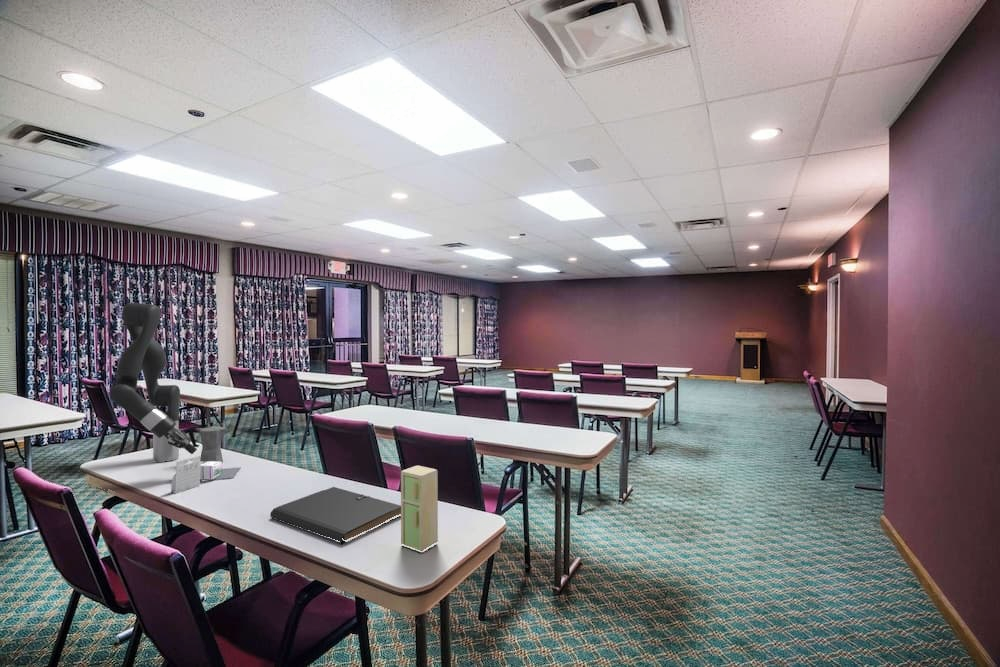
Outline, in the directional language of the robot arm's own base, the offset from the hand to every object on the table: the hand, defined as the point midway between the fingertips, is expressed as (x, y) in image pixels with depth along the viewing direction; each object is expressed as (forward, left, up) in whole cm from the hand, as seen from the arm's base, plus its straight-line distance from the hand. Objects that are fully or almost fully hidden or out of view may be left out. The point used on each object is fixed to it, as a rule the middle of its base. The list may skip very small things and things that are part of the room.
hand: (194, 451), depth 184 cm
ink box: (+15, +4, -10) cm, 19 cm away
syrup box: (+2, -4, -6) cm, 8 cm away
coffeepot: (-19, -3, -10) cm, 22 cm away
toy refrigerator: (+71, +89, -10) cm, 114 cm away
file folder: (+48, +63, -11) cm, 80 cm away
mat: (-1, +6, -10) cm, 12 cm away
